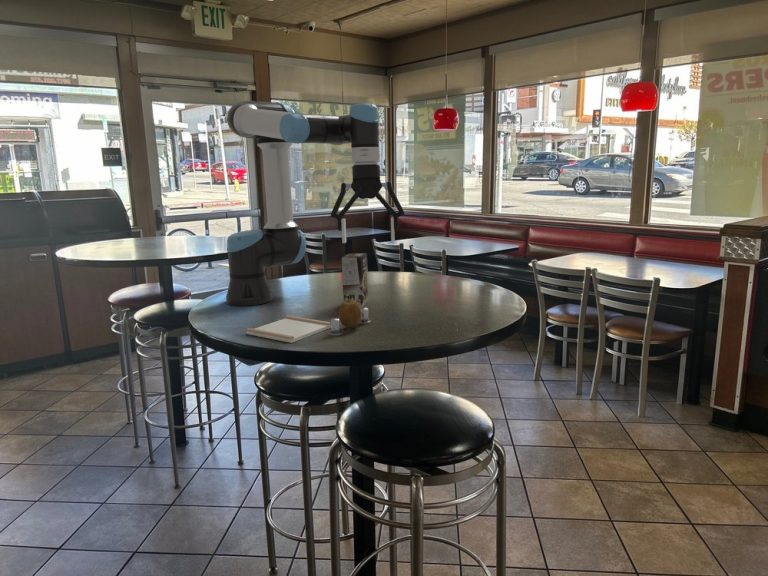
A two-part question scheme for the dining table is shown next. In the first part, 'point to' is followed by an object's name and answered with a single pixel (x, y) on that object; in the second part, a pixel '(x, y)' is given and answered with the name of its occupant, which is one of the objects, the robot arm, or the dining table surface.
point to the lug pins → (336, 322)
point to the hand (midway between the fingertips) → (368, 242)
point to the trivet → (290, 329)
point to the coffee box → (355, 278)
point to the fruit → (350, 313)
